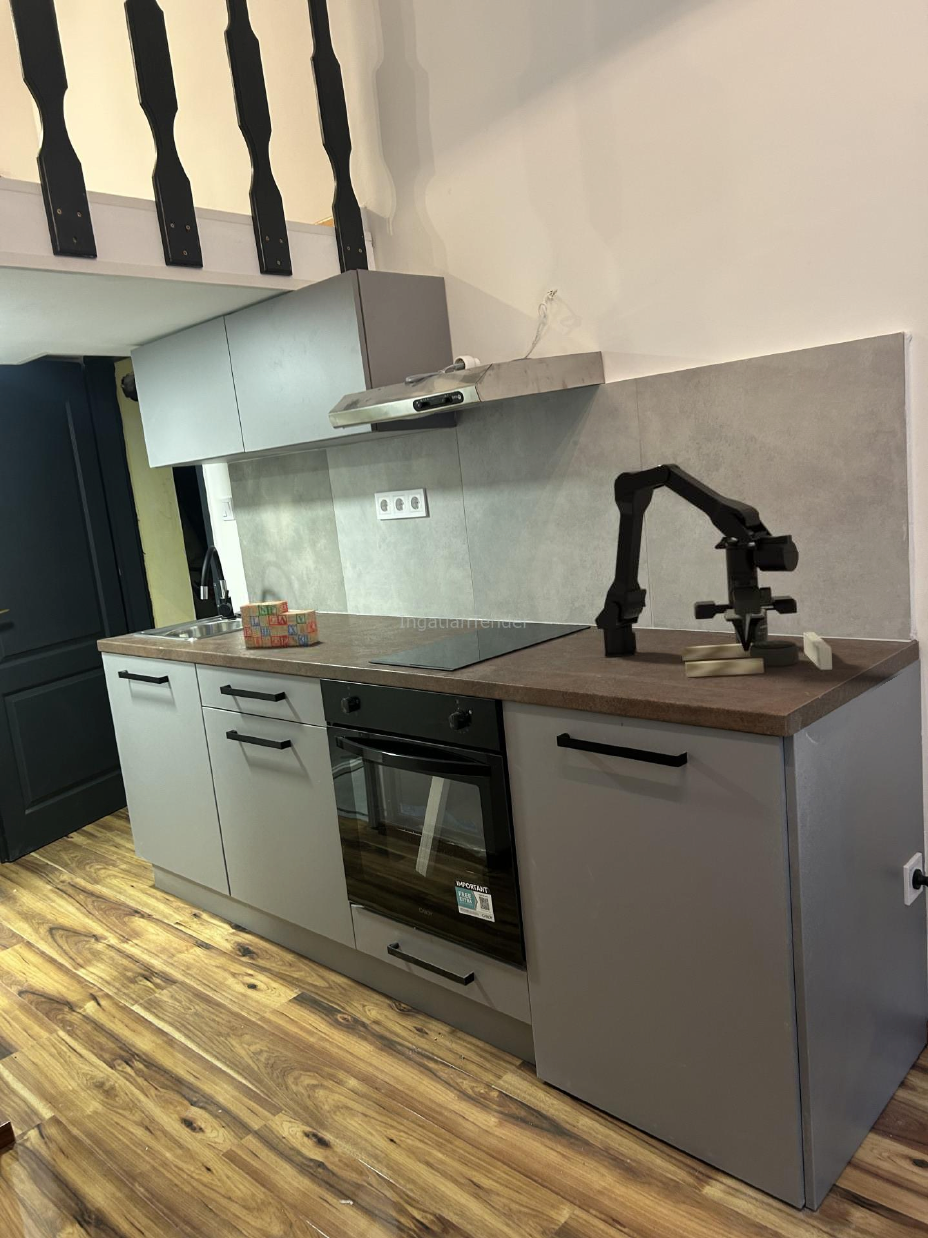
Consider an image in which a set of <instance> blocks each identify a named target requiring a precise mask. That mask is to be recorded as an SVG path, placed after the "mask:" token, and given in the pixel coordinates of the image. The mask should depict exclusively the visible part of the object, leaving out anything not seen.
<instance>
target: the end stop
mask: <svg viewBox="0 0 928 1238" xmlns="http://www.w3.org/2000/svg"><path fill="white" fill-rule="evenodd" d="M802 633H803V635H802V636H803V652H804V654H805V655H806V656H807V657H808V658H809V659H810V660H811V661H812V662H813V664H814V665H816V667H817V669H819V670H821V671H822V670H823V671H824V670H825V671H826V670H827V671H829V670H833V660H832V659H833V658H832V657H833V656H832V647H831V646H830V645H829V644H828V643H827V642H825V641H824V640H823V639H822V638H821V637H820V636H819V635H818V634H816V633H815V632H814V631H808V632H802Z"/></svg>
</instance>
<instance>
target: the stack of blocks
mask: <svg viewBox="0 0 928 1238" xmlns="http://www.w3.org/2000/svg"><path fill="white" fill-rule="evenodd" d="M239 611H240V616H241V617H240V619H241V625H242V626H241V627H242V632H243V636H244V637H243V638H244V640H243V641H244V647H245V648H259V647H260V648H261V647H265V648H266V647H287V646H309V645H311V644H314V643H318V642H319V633H318V632H319V631H318V630H319V629H318V624H317V623H318V622H317V612H316V609H309V610H306V609H303V610H289V608H288V602H287V600H281V601H267V602H254V603H248V604H244V605H241V606H239Z"/></svg>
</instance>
